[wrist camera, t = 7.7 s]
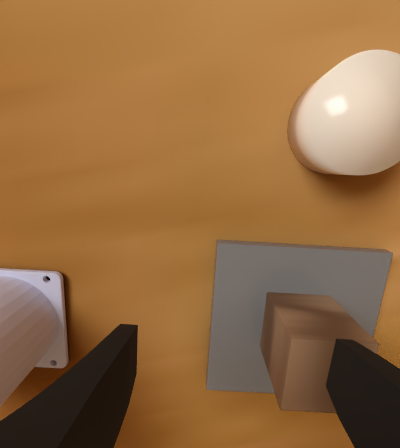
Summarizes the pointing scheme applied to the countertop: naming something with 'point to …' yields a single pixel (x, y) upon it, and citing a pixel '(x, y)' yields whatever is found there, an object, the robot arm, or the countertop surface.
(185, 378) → the countertop surface
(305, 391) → the walnut block
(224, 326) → the plate
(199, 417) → the countertop surface
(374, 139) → the cream egg shape
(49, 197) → the countertop surface
